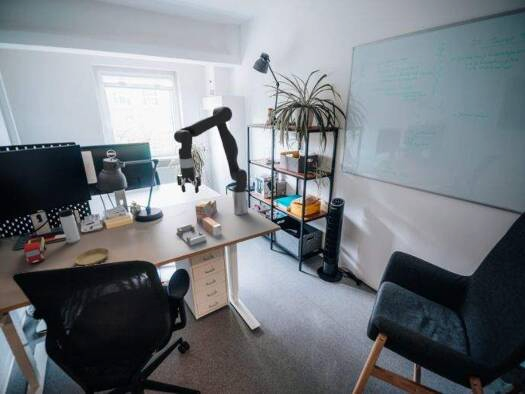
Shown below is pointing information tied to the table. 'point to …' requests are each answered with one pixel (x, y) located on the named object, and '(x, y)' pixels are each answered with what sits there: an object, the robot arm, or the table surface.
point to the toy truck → (35, 250)
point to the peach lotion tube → (212, 226)
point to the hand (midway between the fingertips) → (190, 192)
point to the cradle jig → (190, 235)
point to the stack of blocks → (205, 209)
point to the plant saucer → (92, 256)
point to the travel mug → (69, 226)
